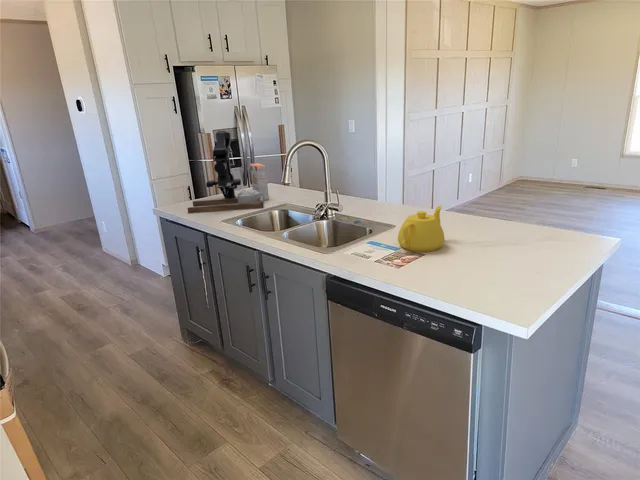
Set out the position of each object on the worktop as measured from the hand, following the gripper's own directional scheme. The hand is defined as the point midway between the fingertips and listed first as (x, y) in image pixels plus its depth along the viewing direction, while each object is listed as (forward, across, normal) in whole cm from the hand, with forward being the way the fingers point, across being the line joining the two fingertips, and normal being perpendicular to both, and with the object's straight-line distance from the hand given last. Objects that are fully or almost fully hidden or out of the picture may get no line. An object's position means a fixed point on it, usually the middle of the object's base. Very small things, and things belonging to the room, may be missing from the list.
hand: (225, 197), depth 244 cm
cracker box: (+6, +19, +17) cm, 26 cm away
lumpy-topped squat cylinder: (+6, +13, 0) cm, 14 cm away
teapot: (+6, +85, -88) cm, 123 cm away
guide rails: (+5, 0, 0) cm, 5 cm away
